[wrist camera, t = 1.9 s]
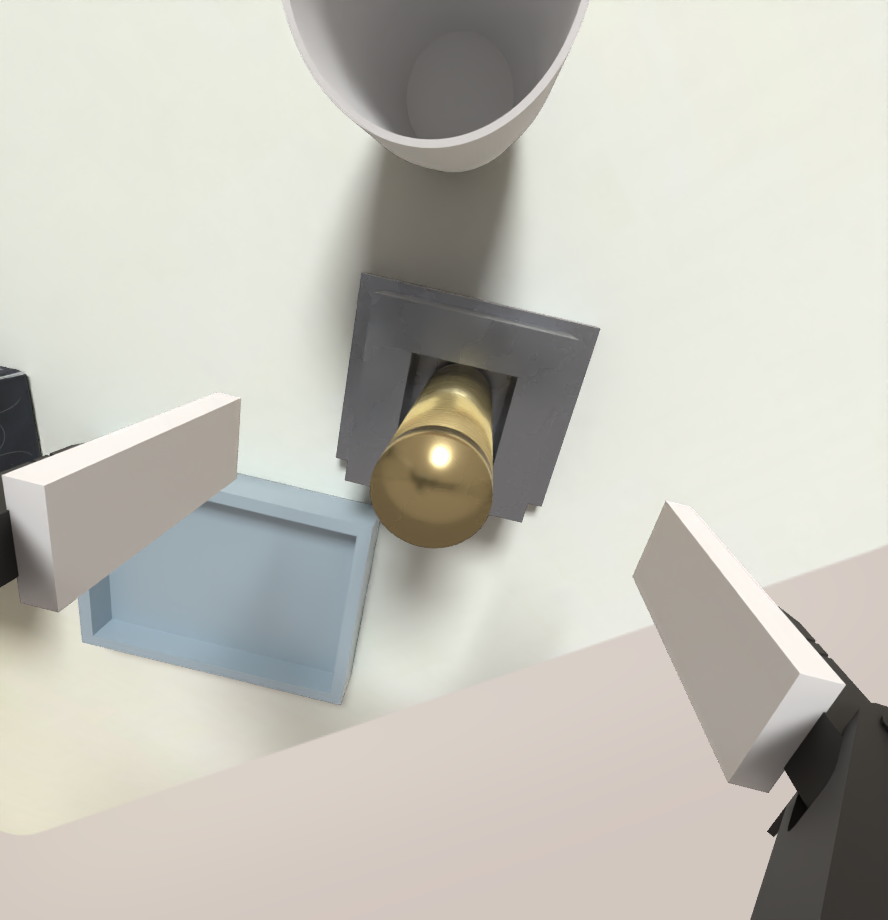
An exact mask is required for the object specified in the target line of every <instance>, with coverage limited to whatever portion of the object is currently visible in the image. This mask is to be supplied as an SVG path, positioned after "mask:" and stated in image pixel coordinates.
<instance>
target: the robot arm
mask: <svg viewBox="0 0 888 920" xmlns="http://www.w3.org/2000/svg"><path fill="white" fill-rule="evenodd" d="M240 407H241V398H239V397H235V396H231V395H227V394H223V393H219V392H216V393H213V394H210V395H208V396H205V397H203V398H200V399H197V400H195V401H192V402H190V403H187V404H185V405H182V406H179V407H177V408H174V409H172V410H169V411H166V412H164V413H161V414H159V415H156V416H154V417H151V418H148V419H146V420H143V421H141V422H138V423H135V424H133V425H130V426H128V427H125V428H122V429H120V430H117V431H115V432H112V433H110V434H107V435H104V436H102V437H99V438H97V439H94V440H91V441H89V442H86V443H82V444H76V445H71V446H68V447H66V448H63V449H61V450H58V451H55V452H53V453H50V456H48V455H45V456H42V457H40V458H37V459H34V460H33V462H26V463H24V464H21V465H18V466H16V467H13V468H11V469H8V470H5V471H3V472H0V587H2V586H4V585H5V584H7V583H8V582H10V581H12V580H13V579H15V578H17V581H18V588H19V595H20V602H21V603H24V604H28V605H32V606H35V607H39V608H43V609H47V610H51V611H55V612H60V611H61V610H62V609H64V608H65V607H66V606H68V605H69V604H70V603H72V602H73V601H74V600H76V599H77V598H78V597H80V596H81V595H82V594H84V593H85V592H86V591H88V590H89V589H90V588H92V587H93V586H94V585H96V584H97V583H98V582H100V581H101V580H102V579H104V578H105V577H106V576H108V575H109V574H110V573H112V572H113V571H114V570H116V569H117V568H118V567H120V566H121V565H122V564H124V563H125V562H126V561H128V560H129V559H130V558H132V557H133V556H134V555H136V554H137V553H138V552H140V551H141V550H142V549H144V548H145V547H146V546H148V545H149V544H150V543H152V542H153V541H154V540H156V539H157V538H158V537H160V536H161V535H162V534H164V533H165V532H166V531H168V530H169V529H170V528H172V527H173V526H174V525H176V524H177V523H178V522H180V521H181V520H182V519H184V518H185V517H186V516H188V515H189V514H190V513H192V512H193V511H194V510H196V509H197V508H198V507H200V506H201V505H202V504H204V503H205V502H206V501H208V500H209V499H210V498H212V497H213V496H214V495H216V494H217V493H218V492H220V491H221V490H222V489H224V488H225V487H226V486H228V485H229V484H230V483H232V482H233V481H234V480H236V479H237V461H238V443H239V425H240ZM633 578H634V580H635V583H636V585H637V587H638V589H639V591H640V593H641V596H642V598H643V600H644V602H645V604H646V606H647V609H648V611H649V613H650V615H651V617H652V619H653V622H654V624H655V626H656V628H657V630H658V632H659V635H660V637H661V639H662V641H663V643H664V645H665V647H666V650H667V652H668V654H669V656H670V658H671V660H672V663H673V665H674V667H675V669H676V671H677V673H678V675H679V677H680V680H681V682H682V684H683V686H684V688H685V691H686V693H687V695H688V697H689V699H690V701H691V704H692V706H693V708H694V710H695V712H696V714H697V717H698V719H699V721H700V723H701V725H702V728H703V730H704V732H705V734H706V736H707V738H708V740H709V742H710V745H711V747H712V749H713V751H714V754H715V756H716V758H717V760H718V762H719V764H720V766H721V769H722V771H723V773H724V775H725V777H726V779H727V782H728V783H731V784H735V785H739V786H743V787H747V788H751V789H755V790H759V791H763V792H766V793H769V791H770V790H771V789H772V787H773V786H774V784H775V783H776V782H777V780H778V779H779V778H780V776H781V775H782V773H783V772H784V771H786V773H787V775H788V776H789V778H790V780H791V781H792V783H793V785H794V786H795V788H796V790H797V792H796V794H795V795H794V796H793V798H792V799H791V800H790V802H789V803H788V804H787V806H786V807H785V808H784V810H783V811H782V813H781V814H780V815H779V816H778V818H777V819H776V820H775V822H774V823H773V824H772V826H771V827H770V828H769V830H768V831H767V832H768V833H770V834H771V835H772V836H773V837H774V836H775V835H776V834H777V833H778V834H777V838H776V841H775V844H774V847H773V850H772V853H771V856H770V860H769V863H768V866H767V869H766V872H765V876H764V879H763V882H762V885H761V888H760V891H759V894H758V897H757V901H756V904H755V907H754V910H753V913H752V917H751V920H888V707H887V706H883V705H880V704H877V703H871V702H870V701H869V700H868V699H867V698H866V697H865V696H864V694H863V693H862V692H861V691H860V690H859V689H858V688H857V687H856V686H855V684H854V683H853V682H852V681H851V680H850V679H849V678H848V677H847V675H846V674H845V673H844V672H843V671H842V670H841V669H840V668H839V666H838V665H837V664H836V663H835V662H834V661H833V660H832V659H831V658H828V654H827V653H826V652H825V651H824V650H823V649H822V647H821V646H820V645H819V644H816V643H815V639H814V638H813V637H812V636H811V635H810V634H809V633H808V632H807V631H806V629H805V628H804V627H803V626H802V625H801V624H800V623H799V622H798V621H796V620H795V619H794V618H793V617H791V616H790V615H789V614H787V613H786V612H785V611H784V610H782V609H781V608H780V607H778V606H777V605H776V604H775V603H774V602H773V600H772V599H771V598H770V597H769V596H768V595H767V594H766V592H765V591H764V590H763V589H762V588H761V587H760V585H759V584H758V583H757V582H756V581H755V580H754V579H753V577H752V576H751V575H750V574H749V573H748V572H747V570H746V569H745V568H744V567H743V566H742V565H741V564H740V562H739V561H738V560H737V559H736V558H735V557H734V556H733V554H732V553H731V552H730V551H729V550H728V549H727V547H726V546H725V545H724V544H723V543H722V542H721V541H720V539H719V538H718V537H717V536H716V535H715V534H714V532H713V531H712V530H711V529H710V528H709V527H708V526H707V524H706V523H705V522H704V521H703V520H702V519H701V518H700V516H699V515H698V514H697V513H696V512H695V511H694V509H693V508H692V507H690V506H686V505H682V504H678V503H673V502H669V501H665V504H664V506H663V508H662V511H661V513H660V515H659V517H658V520H657V522H656V524H655V526H654V529H653V531H652V533H651V536H650V538H649V540H648V542H647V545H646V547H645V549H644V552H643V554H642V556H641V558H640V561H639V563H638V565H637V567H636V570H635V572H634V574H633Z"/></svg>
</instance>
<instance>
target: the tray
mask: <svg viewBox="0 0 888 920" xmlns="http://www.w3.org/2000/svg"><path fill="white" fill-rule="evenodd" d="M379 523H380V519H379V518H378V516H377V515H376V513H375V510H374V508H373V505H369V504H365V503H361V502H356V501H352V500H348V499H344V498H340V497H336V496H331V495H327V494H323V493H319V492H315V491H310V490H306V489H302V488H298V487H294V486H289V485H285V484H281V483H277V482H273V481H269V480H264V479H260V478H256V477H252V476H248V475H243V474H239V473H237V479H236V480H234V481H233V482H232V483H230V484H229V485H228V486H226V487H225V488H224V489H222V490H221V491H220V492H218V493H217V494H216V495H214V496H213V497H212V498H210V499H209V500H208V501H206V502H205V503H204V504H202V505H201V506H200V507H198V508H197V509H196V510H194V511H193V512H192V513H190V514H189V515H188V516H186V517H185V518H184V519H182V520H181V521H180V522H178V523H177V524H176V525H174V526H173V527H172V528H170V529H169V530H168V531H166V532H165V533H164V534H162V535H161V536H160V537H158V538H157V539H156V540H154V541H153V542H152V543H150V544H149V545H148V546H146V547H145V548H144V549H142V550H141V551H140V552H138V553H137V554H136V555H134V556H133V557H132V558H130V559H129V560H128V561H126V562H125V563H124V564H122V565H121V566H120V567H118V568H117V569H116V570H114V571H113V572H112V573H110V574H109V575H108V576H106V577H105V578H104V579H102V580H101V581H100V582H98V583H97V584H96V585H94V586H93V587H92V588H90V589H89V590H88V591H86V592H85V593H84V594H82V595H81V596H80V597H78V604H79V614H80V625H81V635H82V642H83V643H88V644H92V645H96V646H100V647H104V648H108V649H112V650H116V651H120V652H125V653H129V654H133V655H137V656H141V657H145V658H149V659H153V660H157V661H161V662H166V663H170V664H174V665H178V666H182V667H186V668H190V669H194V670H198V671H203V672H207V673H211V674H215V675H219V676H223V677H227V678H231V679H235V680H239V681H244V682H248V683H252V684H256V685H260V686H264V687H268V688H272V689H276V690H281V691H285V692H289V693H293V694H297V695H301V696H305V697H309V698H313V699H317V700H322V701H326V702H330V703H334V704H338V705H341V702H342V699H343V696H344V694H345V691H346V688H347V685H348V682H349V680H350V677H351V672H352V667H353V661H354V656H355V651H356V645H357V640H358V635H359V630H360V624H361V619H362V614H363V608H364V603H365V598H366V592H367V587H368V582H369V576H370V571H371V566H372V560H373V555H374V550H375V544H376V539H377V534H378V528H379Z"/></svg>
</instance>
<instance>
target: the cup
mask: <svg viewBox="0 0 888 920" xmlns="http://www.w3.org/2000/svg"><path fill="white" fill-rule="evenodd" d="M282 3H283V7H284V11H285V14H286V18H287V21H288V24H289V27H290V30H291V33H292V36H293V38H294V41H295V43H296V46H297V48H298V50H299V52H300V54H301V56H302V58H303V60H304V62H305V64H306V66H307V68H308V69H309V71H310V73H311V74H312V76H313V77H314V79H315V80H316V82H317V83H318V85H319V86H320V87H321V89H322V90H323V91H324V93H325V94H326V95H327V96H328V97H329V99H330V100H331V101H332V102H333V103H334V104H335V105H336V106H337V107H338V108H339V109H340V110H341V111H342V112H343V113H344V114H346V115H347V116H348V117H349V118H350V119H351V120H353V121H354V122H355V123H356V124H357V125H359V126H360V127H361V128H362V129H363V130H365V131H366V132H367V133H368V134H370V135H371V136H372V137H373V138H374V139H376V140H377V141H378V142H379V143H380V144H382V145H383V146H384V147H385V148H386V149H388V150H389V151H390V152H392V153H393V154H395V155H396V156H398V157H400V158H402V159H403V160H405V161H408V162H410V163H412V164H415V165H418V166H421V167H425V168H430V169H434V170H438V171H443V172H464V171H469V170H473V169H476V168H479V167H481V166H483V165H485V164H487V163H489V162H491V161H492V160H494V159H495V158H497V157H498V156H499V155H501V154H502V153H503V152H504V151H505V150H506V149H507V148H508V147H509V146H510V145H512V144H513V143H514V142H515V141H516V140H517V139H518V138H519V137H520V136H521V135H522V134H523V133H524V132H525V131H526V129H527V128H528V127H529V126H530V125H531V123H532V122H533V121H534V119H535V118H536V116H537V115H538V113H539V112H540V110H541V108H542V107H543V105H544V103H545V101H546V99H547V97H548V95H549V93H550V91H551V89H552V87H553V85H554V83H555V81H556V78H557V76H558V74H559V72H560V70H561V68H562V66H563V64H564V62H565V60H566V57H567V55H568V53H569V51H570V49H571V47H572V45H573V43H574V40H575V38H576V36H577V34H578V32H579V29H580V27H581V24H582V21H583V19H584V16H585V13H586V10H587V7H588V4H589V0H282Z"/></svg>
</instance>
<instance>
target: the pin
mask: <svg viewBox="0 0 888 920" xmlns="http://www.w3.org/2000/svg"><path fill="white" fill-rule="evenodd" d="M370 497H371V502H372V505H373V508H374V510H375V513H376V515H377V516H378V518H379V519H380V521H381V522H382V524H383V525H384V526H385V527H386V528H387V529H388V530H389V531H390V532H391V533H393V534H394V535H395V536H397V537H398V538H400V539H402V540H403V541H405V542H408V543H410V544H413V545H416V546H420V547H425V548H443V547H449V546H453V545H456V544H459V543H461V542H463V541H465V540H467V539H468V538H470V537H471V536H472V535H474V534H475V533H476V532H477V531H478V530H479V529H480V528H481V527H482V525H483V524H484V523H485V521H486V519H487V517H488V515H489V513H490V510H491V506H492V500H493V441H492V391H491V387H490V385H489V383H488V381H487V379H486V378H485V376H484V375H483V374H482V373H481V372H480V371H478V370H477V369H475V368H473V367H471V366H468V365H464V364H451V365H447V366H445V367H443V368H441V369H439V370H438V371H436V372H435V373H434V374H433V375H432V376H431V378H430V379H429V381H428V382H427V384H426V385H425V387H424V389H423V390H422V392H421V393H420V395H419V397H418V398H417V400H416V401H415V403H414V405H413V406H412V408H411V409H410V411H409V413H408V414H407V416H406V417H405V419H404V421H403V422H402V424H401V425H400V427H399V429H398V430H397V432H396V433H395V435H394V436H393V438H392V440H391V441H390V443H389V444H388V446H387V448H386V449H385V451H384V452H383V454H382V456H381V457H380V459H379V460H378V462H377V464H376V465H375V468H374V470H373V472H372V476H371V480H370Z"/></svg>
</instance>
